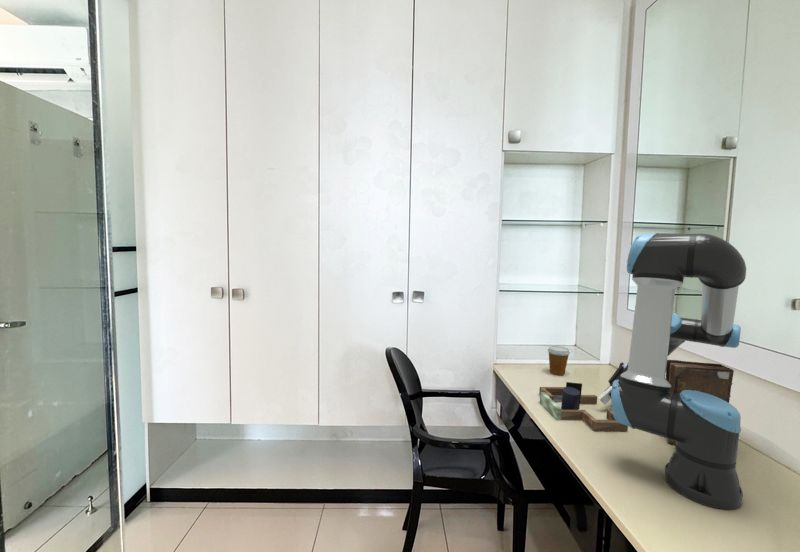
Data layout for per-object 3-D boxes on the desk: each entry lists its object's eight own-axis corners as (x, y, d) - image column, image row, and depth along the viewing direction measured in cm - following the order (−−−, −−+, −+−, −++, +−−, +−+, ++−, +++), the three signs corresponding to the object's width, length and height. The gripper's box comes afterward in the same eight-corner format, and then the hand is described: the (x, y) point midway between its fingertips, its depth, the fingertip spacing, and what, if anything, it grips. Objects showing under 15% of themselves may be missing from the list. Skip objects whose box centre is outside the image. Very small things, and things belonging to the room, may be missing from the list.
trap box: (631, 431, 119) (632, 419, 119) (567, 431, 118) (568, 419, 118) (584, 394, 148) (584, 384, 148) (531, 394, 147) (532, 384, 147)
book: (717, 440, 115) (726, 363, 112) (731, 453, 108) (741, 371, 105) (657, 432, 119) (664, 358, 117) (667, 444, 112) (674, 365, 110)
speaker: (562, 404, 138) (565, 378, 136) (579, 408, 135) (582, 383, 133) (558, 413, 132) (561, 387, 130) (576, 418, 129) (579, 392, 127)
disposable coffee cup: (549, 368, 178) (550, 344, 177) (570, 373, 173) (571, 348, 171) (543, 374, 170) (545, 349, 169) (565, 378, 165) (567, 353, 164)
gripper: (669, 370, 127) (619, 416, 127) (642, 358, 139) (597, 400, 140) (656, 355, 126) (605, 402, 127) (630, 344, 139) (584, 387, 140)
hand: (601, 401), depth 133 cm, fingers closed
